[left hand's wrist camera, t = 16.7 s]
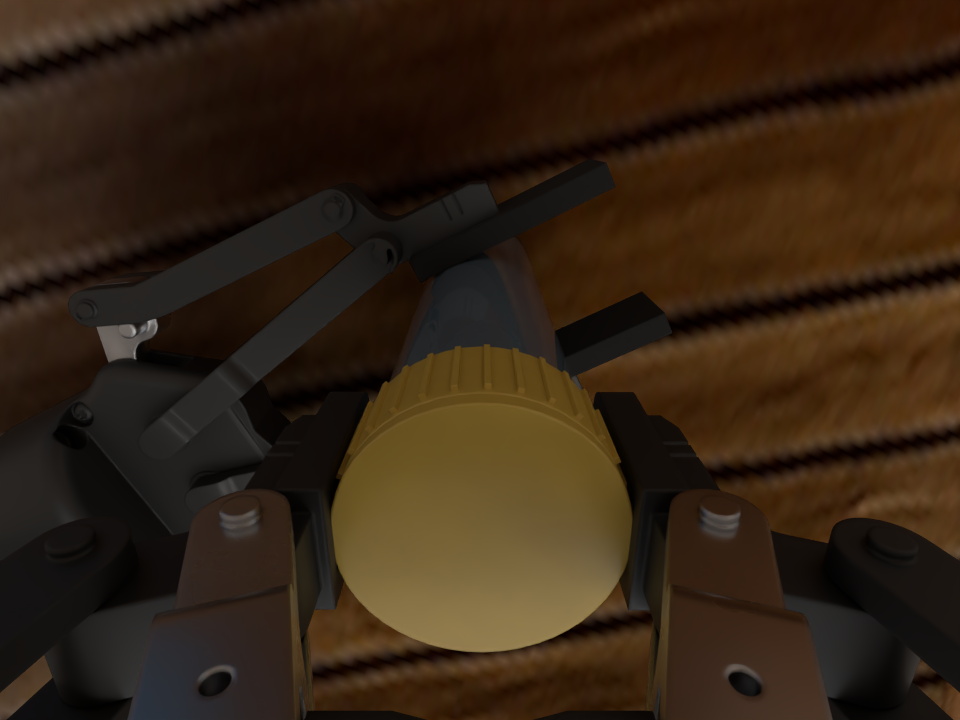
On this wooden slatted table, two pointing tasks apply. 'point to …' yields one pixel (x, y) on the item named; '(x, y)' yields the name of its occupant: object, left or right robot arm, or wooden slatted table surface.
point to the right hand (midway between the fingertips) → (628, 245)
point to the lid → (481, 503)
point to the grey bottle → (484, 310)
